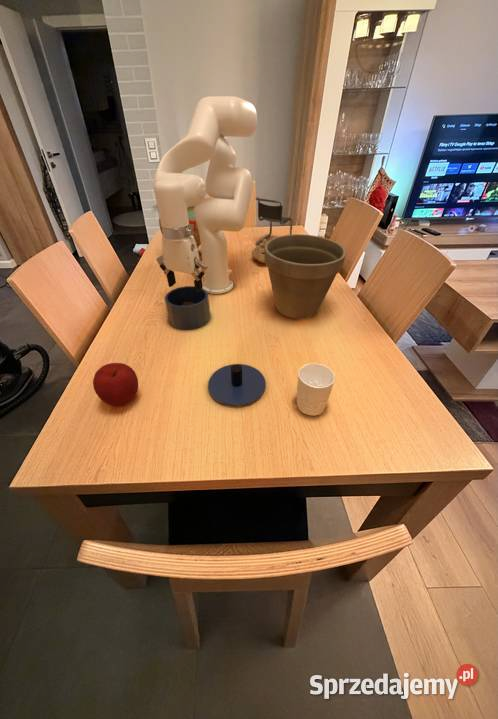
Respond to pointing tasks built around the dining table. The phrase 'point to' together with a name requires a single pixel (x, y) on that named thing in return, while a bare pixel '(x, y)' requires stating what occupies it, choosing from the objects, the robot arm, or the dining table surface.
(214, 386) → the lid
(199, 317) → the tin
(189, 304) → the block
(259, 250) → the oil lamp
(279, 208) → the chair
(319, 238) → the plant pot
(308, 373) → the white cup
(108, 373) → the apple
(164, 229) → the robot arm
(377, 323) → the dining table surface
